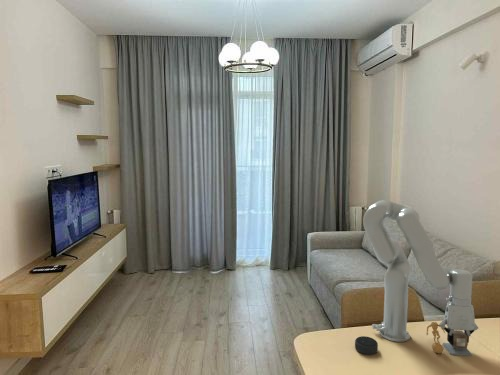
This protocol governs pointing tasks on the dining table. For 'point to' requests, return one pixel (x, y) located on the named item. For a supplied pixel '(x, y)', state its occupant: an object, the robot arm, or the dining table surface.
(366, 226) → the robot arm
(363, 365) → the dining table surface
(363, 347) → the smart speaker
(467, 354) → the rubber mat
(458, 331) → the marked cube
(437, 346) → the figurine
